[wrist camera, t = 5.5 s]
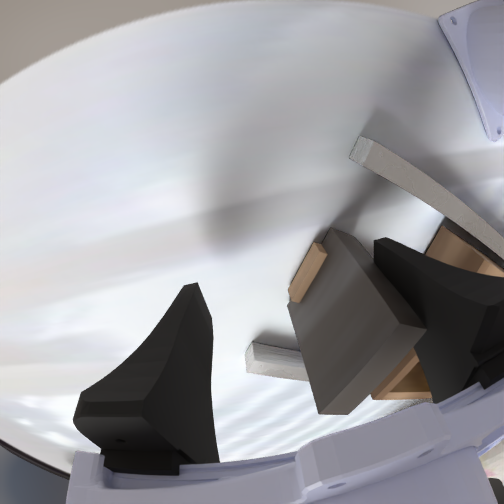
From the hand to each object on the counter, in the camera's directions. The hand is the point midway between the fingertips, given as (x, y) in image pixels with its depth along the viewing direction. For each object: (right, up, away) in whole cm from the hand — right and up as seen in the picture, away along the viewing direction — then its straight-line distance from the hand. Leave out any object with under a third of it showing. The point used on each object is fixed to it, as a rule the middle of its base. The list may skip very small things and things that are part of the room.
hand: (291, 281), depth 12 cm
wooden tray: (+9, -2, +5) cm, 11 cm away
